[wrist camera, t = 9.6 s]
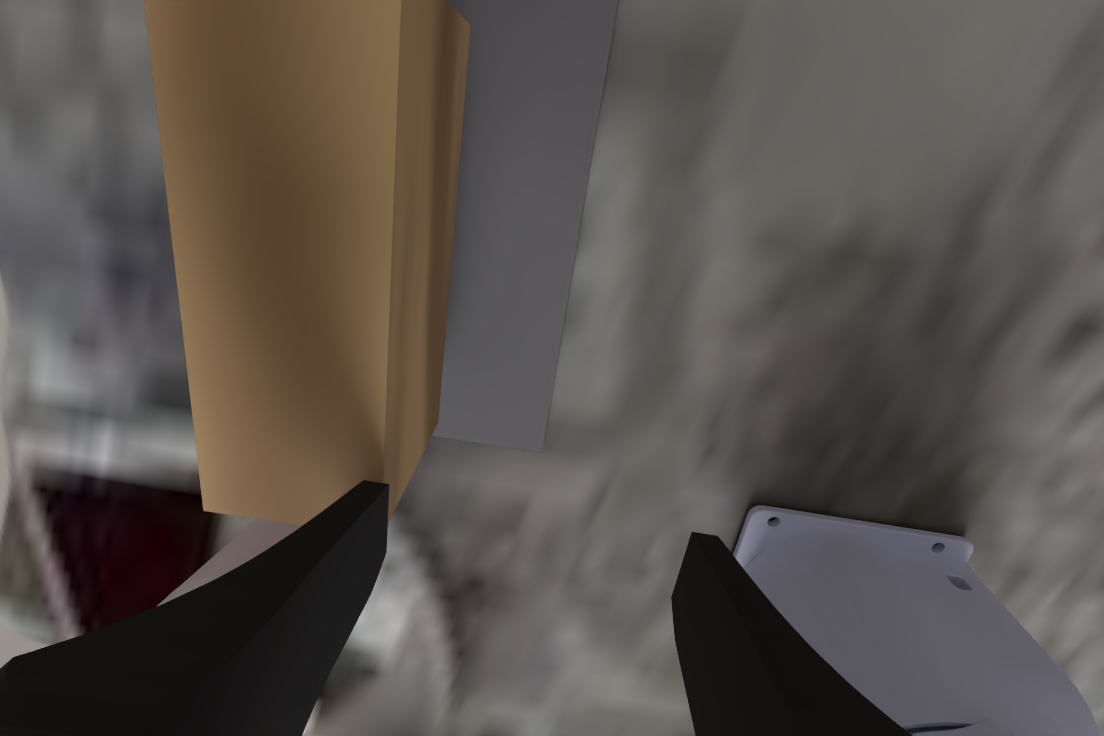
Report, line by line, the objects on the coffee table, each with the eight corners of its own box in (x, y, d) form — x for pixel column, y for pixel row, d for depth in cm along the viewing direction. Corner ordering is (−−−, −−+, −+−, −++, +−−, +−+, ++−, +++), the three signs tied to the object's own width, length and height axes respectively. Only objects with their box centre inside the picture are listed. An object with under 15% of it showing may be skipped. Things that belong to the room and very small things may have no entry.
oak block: (470, 25, 15) (403, -44, 9) (438, 422, 19) (380, 538, 14) (304, -3, 14) (133, -89, 9) (312, 402, 19) (203, 510, 14)
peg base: (619, -8, 17) (626, -37, 14) (542, 446, 23) (537, 489, 20) (221, -76, 16) (149, -118, 14) (253, 401, 23) (207, 437, 20)
